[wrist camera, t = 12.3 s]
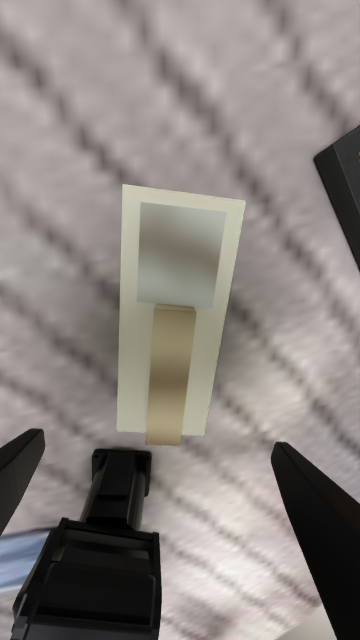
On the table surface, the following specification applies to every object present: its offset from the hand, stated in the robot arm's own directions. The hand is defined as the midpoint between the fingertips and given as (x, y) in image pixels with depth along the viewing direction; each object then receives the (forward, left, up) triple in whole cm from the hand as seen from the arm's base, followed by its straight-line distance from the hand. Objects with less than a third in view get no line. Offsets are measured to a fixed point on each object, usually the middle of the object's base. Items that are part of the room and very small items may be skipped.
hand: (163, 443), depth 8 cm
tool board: (0, 0, -12) cm, 12 cm away
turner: (+1, 0, -11) cm, 11 cm away
